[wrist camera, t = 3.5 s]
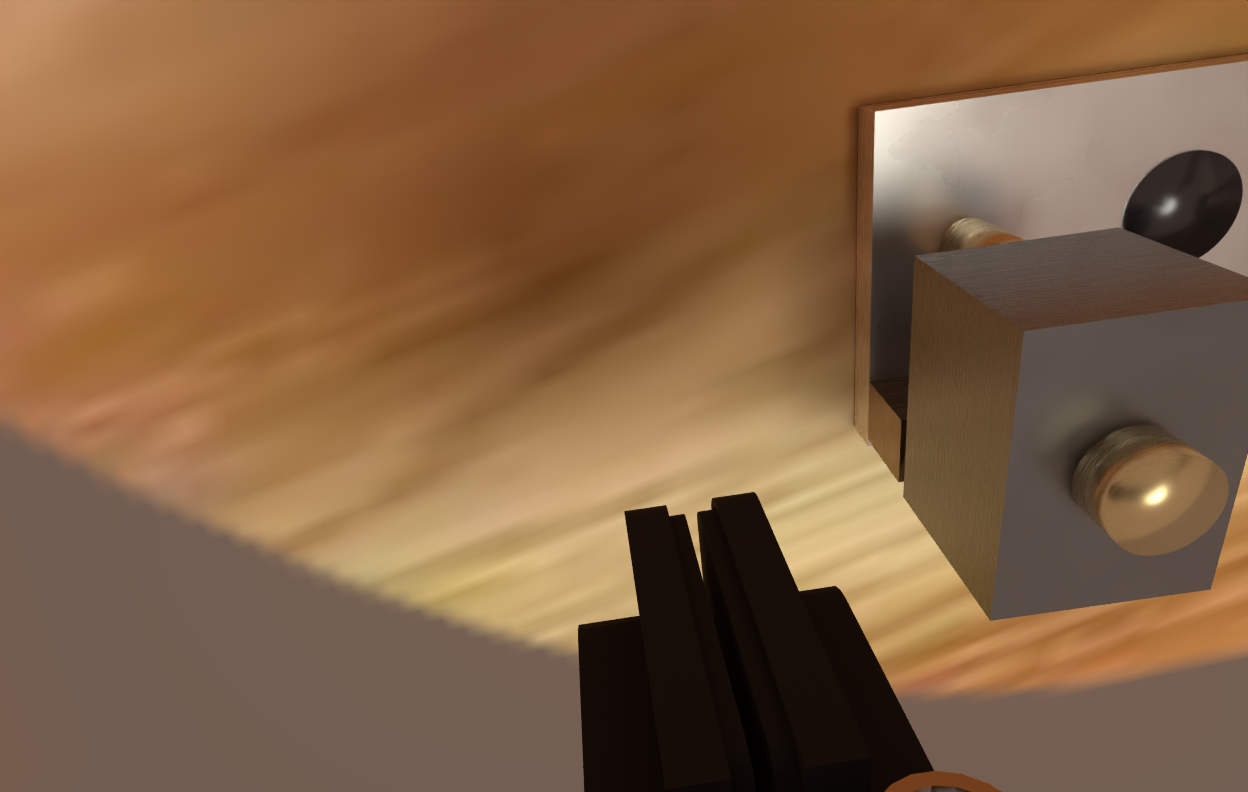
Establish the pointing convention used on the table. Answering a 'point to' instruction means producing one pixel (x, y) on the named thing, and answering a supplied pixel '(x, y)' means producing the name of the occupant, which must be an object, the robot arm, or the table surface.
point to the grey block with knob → (1075, 415)
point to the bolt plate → (1039, 189)
